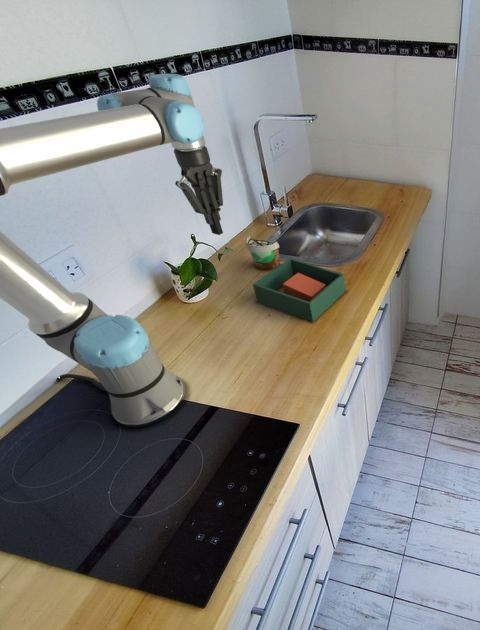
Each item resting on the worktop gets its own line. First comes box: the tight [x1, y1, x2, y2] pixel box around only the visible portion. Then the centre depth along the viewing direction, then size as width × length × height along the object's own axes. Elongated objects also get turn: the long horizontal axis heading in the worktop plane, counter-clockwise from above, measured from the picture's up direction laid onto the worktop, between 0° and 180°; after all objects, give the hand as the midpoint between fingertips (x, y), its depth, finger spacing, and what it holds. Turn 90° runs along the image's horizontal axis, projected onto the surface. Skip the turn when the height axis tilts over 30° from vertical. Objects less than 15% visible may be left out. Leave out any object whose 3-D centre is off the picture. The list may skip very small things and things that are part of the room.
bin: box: [252, 257, 347, 323], centre depth 128 cm, size 22×18×7 cm
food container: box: [245, 235, 281, 271], centre depth 141 cm, size 12×6×10 cm, turn 73°
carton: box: [282, 273, 326, 302], centre depth 128 cm, size 5×8×11 cm
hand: (217, 232), depth 113 cm, fingers closed
